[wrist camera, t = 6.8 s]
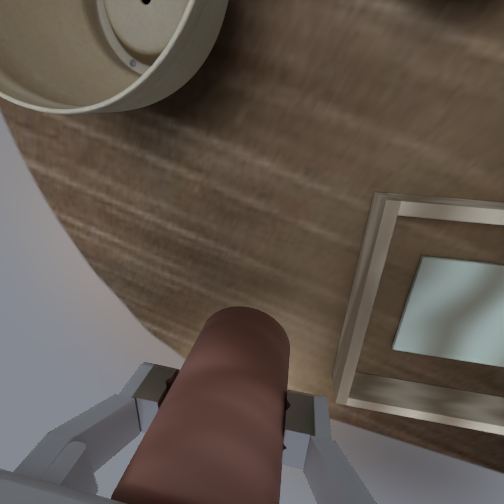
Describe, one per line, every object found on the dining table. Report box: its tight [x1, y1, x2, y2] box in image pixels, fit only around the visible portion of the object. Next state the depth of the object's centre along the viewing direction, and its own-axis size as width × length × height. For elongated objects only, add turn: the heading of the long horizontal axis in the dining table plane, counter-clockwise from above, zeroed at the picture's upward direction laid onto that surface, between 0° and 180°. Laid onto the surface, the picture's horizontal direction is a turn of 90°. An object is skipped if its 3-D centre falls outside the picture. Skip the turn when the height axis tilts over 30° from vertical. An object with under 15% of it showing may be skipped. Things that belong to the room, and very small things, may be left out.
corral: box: [332, 192, 504, 435], centre depth 23 cm, size 20×20×4 cm
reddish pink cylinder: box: [111, 307, 290, 504], centre depth 10 cm, size 4×4×7 cm
